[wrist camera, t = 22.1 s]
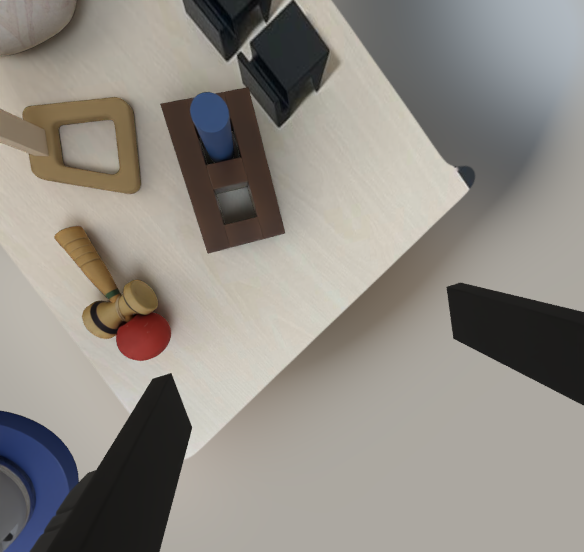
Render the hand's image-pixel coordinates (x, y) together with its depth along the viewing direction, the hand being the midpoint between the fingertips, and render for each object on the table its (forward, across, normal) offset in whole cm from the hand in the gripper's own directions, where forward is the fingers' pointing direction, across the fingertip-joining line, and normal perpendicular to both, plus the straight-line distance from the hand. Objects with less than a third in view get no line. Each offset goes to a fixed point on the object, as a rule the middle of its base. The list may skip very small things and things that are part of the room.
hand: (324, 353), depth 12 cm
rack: (+27, -2, +13) cm, 30 cm away
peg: (+27, -2, +16) cm, 31 cm away
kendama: (+27, -19, +2) cm, 33 cm away
